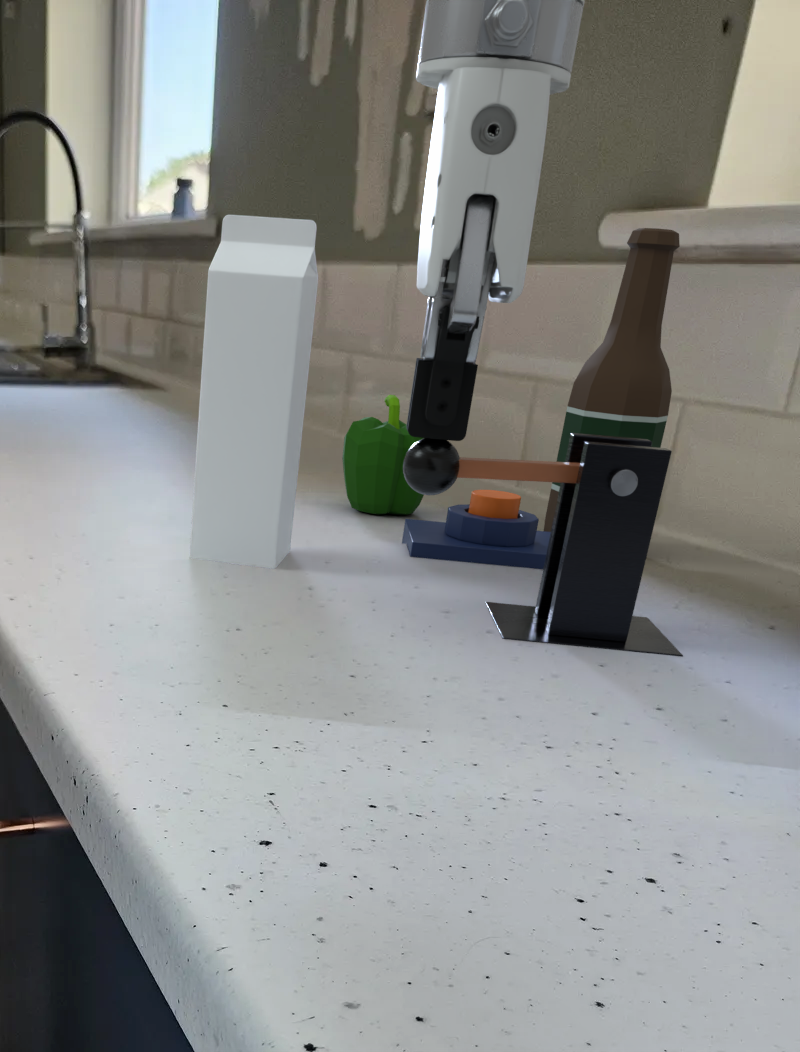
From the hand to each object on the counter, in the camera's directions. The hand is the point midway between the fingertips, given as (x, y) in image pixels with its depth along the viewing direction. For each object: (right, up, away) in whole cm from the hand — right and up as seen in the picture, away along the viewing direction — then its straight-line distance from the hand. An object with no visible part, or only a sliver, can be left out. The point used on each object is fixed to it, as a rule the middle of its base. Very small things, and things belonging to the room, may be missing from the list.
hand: (434, 436), depth 63 cm
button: (+9, +1, +21) cm, 22 cm away
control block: (+8, -3, +22) cm, 24 cm away
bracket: (+9, -11, +4) cm, 15 cm away
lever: (+5, -3, +1) cm, 6 cm away
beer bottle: (+20, +1, +32) cm, 37 cm away
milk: (-10, -5, +15) cm, 19 cm away
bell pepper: (+4, +6, +40) cm, 41 cm away
